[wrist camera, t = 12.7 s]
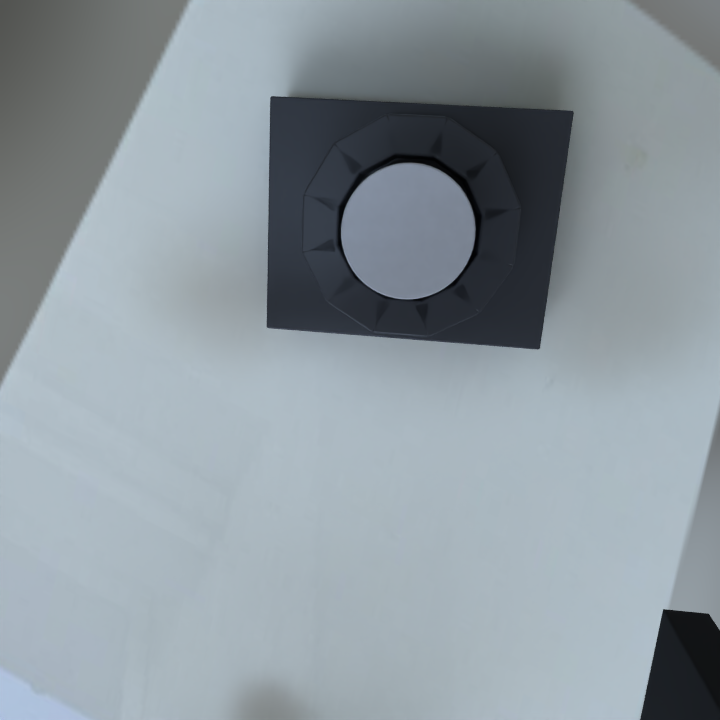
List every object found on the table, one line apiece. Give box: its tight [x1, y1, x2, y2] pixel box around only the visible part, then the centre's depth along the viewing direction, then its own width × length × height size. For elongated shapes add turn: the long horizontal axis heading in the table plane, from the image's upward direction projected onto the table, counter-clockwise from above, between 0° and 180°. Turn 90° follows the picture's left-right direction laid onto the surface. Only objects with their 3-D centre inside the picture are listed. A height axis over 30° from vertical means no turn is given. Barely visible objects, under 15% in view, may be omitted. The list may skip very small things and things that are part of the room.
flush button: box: [341, 163, 476, 299], centre depth 19 cm, size 4×4×2 cm
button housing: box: [267, 96, 574, 349], centre depth 21 cm, size 10×8×4 cm
